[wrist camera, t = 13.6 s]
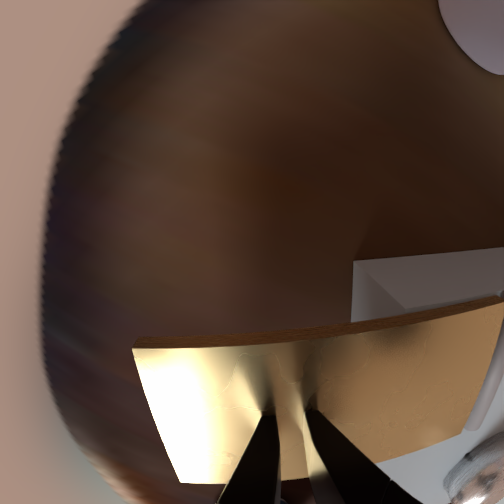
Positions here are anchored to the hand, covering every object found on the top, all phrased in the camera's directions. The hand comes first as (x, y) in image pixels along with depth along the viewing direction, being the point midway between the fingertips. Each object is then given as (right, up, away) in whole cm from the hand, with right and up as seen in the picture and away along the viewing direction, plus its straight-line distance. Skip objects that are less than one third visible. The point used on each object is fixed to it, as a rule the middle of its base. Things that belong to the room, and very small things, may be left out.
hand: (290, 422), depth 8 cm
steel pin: (+12, -6, +7) cm, 15 cm away
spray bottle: (+11, +17, +2) cm, 21 cm away
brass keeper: (+2, 0, 0) cm, 2 cm away
